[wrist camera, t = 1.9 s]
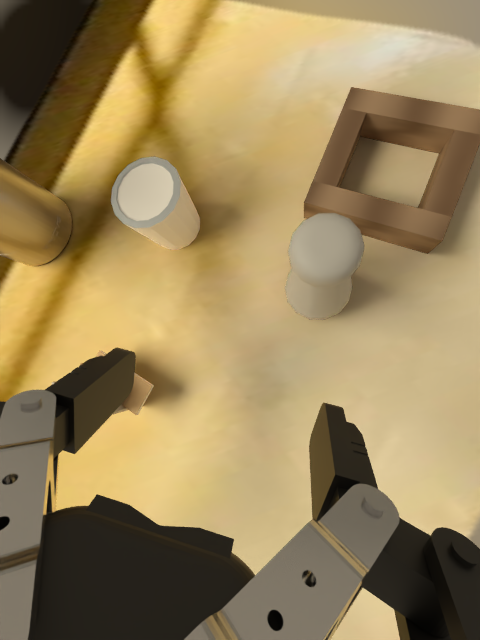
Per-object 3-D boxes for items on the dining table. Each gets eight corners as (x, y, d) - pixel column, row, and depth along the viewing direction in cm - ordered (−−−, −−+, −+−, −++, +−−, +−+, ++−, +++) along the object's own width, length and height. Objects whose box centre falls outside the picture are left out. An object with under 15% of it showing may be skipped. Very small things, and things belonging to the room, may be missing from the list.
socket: (303, 217, 30) (304, 202, 27) (346, 113, 31) (351, 87, 28) (427, 253, 28) (442, 241, 25) (472, 137, 28) (491, 111, 25)
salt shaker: (331, 255, 29) (353, 175, 17) (358, 307, 28) (404, 263, 16) (276, 281, 30) (258, 223, 17) (301, 332, 29) (300, 310, 16)
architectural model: (120, 350, 33) (69, 348, 26) (169, 383, 31) (129, 389, 24) (104, 378, 33) (49, 382, 26) (153, 411, 31) (109, 426, 24)
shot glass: (145, 206, 34) (106, 167, 28) (201, 189, 33) (175, 146, 26) (151, 261, 33) (113, 236, 27) (210, 247, 32) (185, 216, 25)
